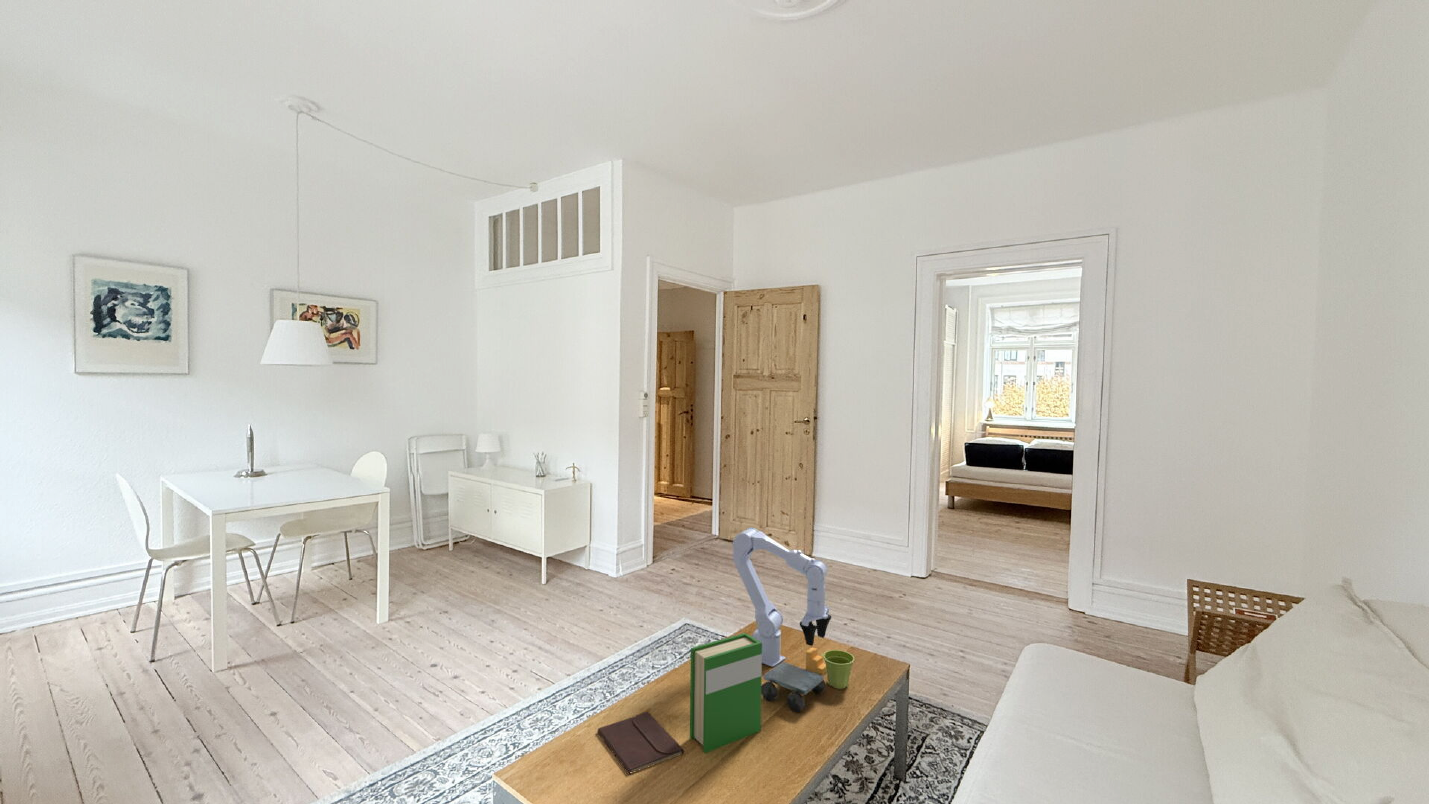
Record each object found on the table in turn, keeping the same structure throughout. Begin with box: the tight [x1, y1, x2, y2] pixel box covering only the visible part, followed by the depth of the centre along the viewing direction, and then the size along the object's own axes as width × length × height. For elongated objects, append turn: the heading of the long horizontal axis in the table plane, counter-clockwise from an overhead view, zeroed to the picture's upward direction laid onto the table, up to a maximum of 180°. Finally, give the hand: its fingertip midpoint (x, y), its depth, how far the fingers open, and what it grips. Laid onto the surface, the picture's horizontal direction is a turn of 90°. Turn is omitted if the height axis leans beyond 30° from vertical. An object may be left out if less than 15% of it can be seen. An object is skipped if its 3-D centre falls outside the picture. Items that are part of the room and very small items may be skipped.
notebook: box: [597, 711, 685, 774], centre depth 153 cm, size 15×20×2 cm
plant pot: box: [822, 649, 855, 690], centre depth 183 cm, size 9×9×9 cm
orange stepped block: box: [805, 646, 827, 676], centre depth 192 cm, size 6×4×6 cm, turn 52°
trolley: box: [761, 661, 827, 713], centre depth 176 cm, size 14×14×6 cm
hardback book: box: [689, 632, 763, 754], centre depth 156 cm, size 18×7×24 cm, turn 124°
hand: (815, 640), depth 192 cm, fingers open, 7 cm apart
